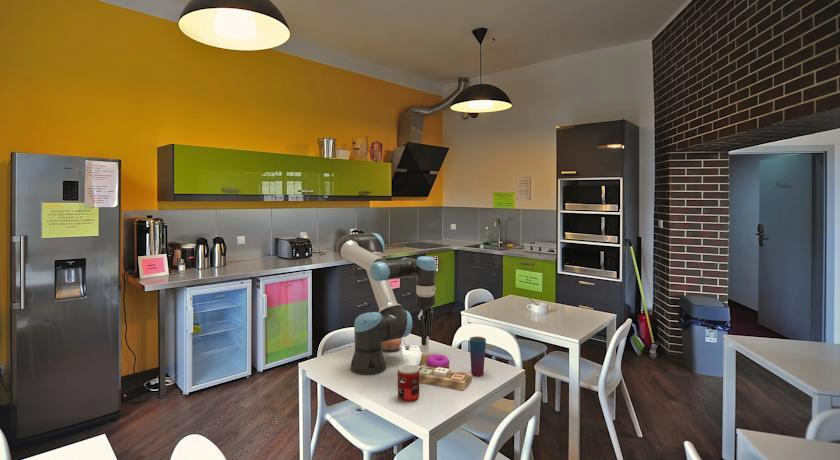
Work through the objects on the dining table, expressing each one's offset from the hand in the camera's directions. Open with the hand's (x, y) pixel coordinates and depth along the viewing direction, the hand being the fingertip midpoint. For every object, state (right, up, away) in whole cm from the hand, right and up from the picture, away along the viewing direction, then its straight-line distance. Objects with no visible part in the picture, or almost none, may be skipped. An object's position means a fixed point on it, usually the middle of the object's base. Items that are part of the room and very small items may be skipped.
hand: (424, 351), depth 183 cm
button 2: (+7, -9, -3) cm, 11 cm away
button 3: (+13, -10, -6) cm, 18 cm away
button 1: (0, -10, 0) cm, 10 cm away
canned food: (-6, -12, -18) cm, 22 cm away
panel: (+7, -11, -3) cm, 13 cm away
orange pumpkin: (-16, -9, +36) cm, 41 cm away
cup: (+22, -11, +5) cm, 25 cm away
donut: (+6, -10, +14) cm, 18 cm away
